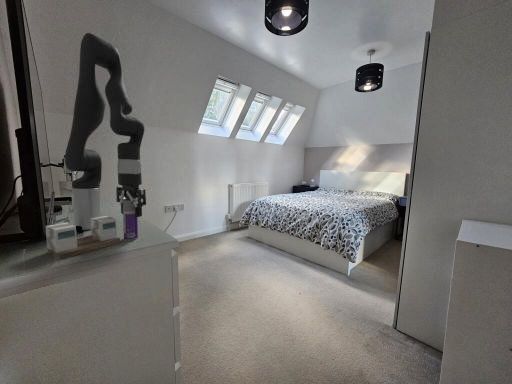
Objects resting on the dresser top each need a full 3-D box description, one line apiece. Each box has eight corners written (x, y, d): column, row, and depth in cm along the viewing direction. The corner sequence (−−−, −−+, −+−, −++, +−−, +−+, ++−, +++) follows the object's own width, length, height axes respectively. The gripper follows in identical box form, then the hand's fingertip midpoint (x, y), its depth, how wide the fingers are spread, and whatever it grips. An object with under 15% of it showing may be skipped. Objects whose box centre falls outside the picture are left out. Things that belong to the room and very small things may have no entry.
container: (140, 237, 84) (139, 199, 82) (132, 241, 79) (131, 201, 77) (129, 236, 84) (128, 198, 82) (120, 240, 80) (119, 200, 78)
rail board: (47, 252, 67) (45, 225, 66) (106, 237, 82) (105, 215, 80) (60, 259, 62) (58, 231, 61) (120, 242, 77) (119, 219, 76)
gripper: (107, 171, 79) (110, 214, 81) (131, 173, 72) (133, 219, 74) (128, 171, 85) (129, 211, 87) (151, 172, 79) (152, 215, 81)
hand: (131, 215), depth 81 cm, fingers open, 8 cm apart
